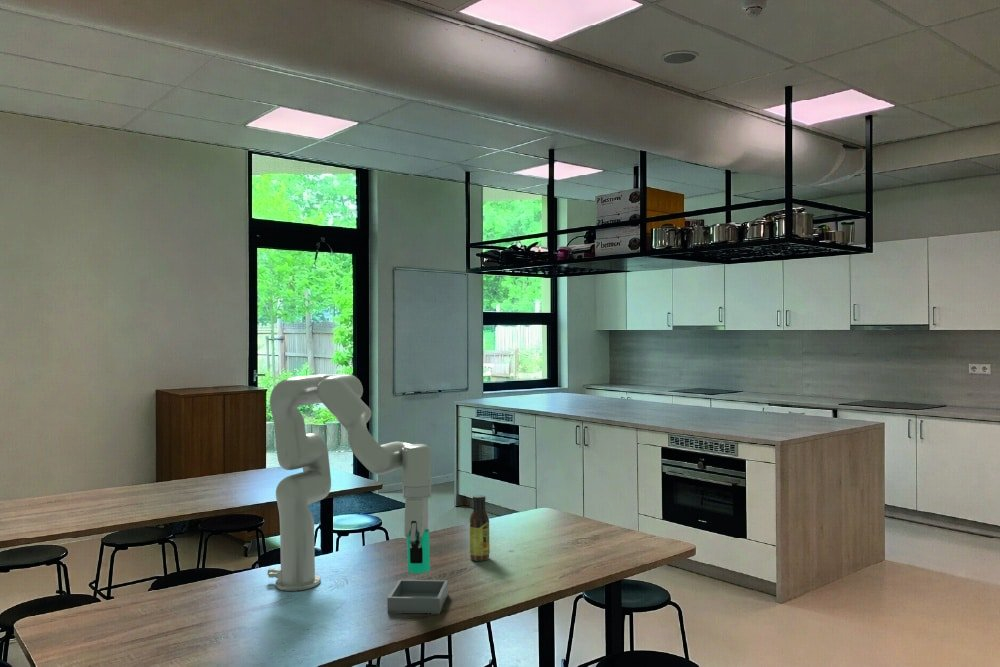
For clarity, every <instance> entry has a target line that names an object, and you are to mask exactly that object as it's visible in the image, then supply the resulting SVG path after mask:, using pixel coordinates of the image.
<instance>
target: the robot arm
mask: <svg viewBox="0 0 1000 667" xmlns="http://www.w3.org/2000/svg"><path fill="white" fill-rule="evenodd" d="M363 393H364V388H363V385H362V382H361V381H360V379H359V378H358V377H357V376H356V375H353V374H348V373H347V374H312V375H311V374H310V375H299V376H293V377H288V378H285V379H283V380H281V381H279V382H278V383H277V384H275V386H274V387H273V389H272V390H271V393H270V397H269V406H270V412H271V417H272V421H273V426H274V439H275V447H276V448H275V449H276V455H277V462H278V464H279V466H280V467H281V468H282V469H283V470H287V471H294V470H295V471H296V470H298V469H299V470H300V469H302V472H297V473H295V474H291V475H288V476H286V477H284V478H283V479H282V480H280V481H279V482H278V484H277V486H276V490H275V500H276V503H277V509H278V514H279V533H280V534H279V539H280V540H279V543H280V547H279V548H280V567H278V568H267V576H268V578H275V579H276V581H275V583H274V584H275V588H276V589H278V590H280V591H284V590H285V592H298V590H299V591H304V590H308V589H312V588H314V587H316V586H318V585H319V584H320V583H321V576H320V575H319V574H317V573H316V561H315V560H316V559H315V556H316V554H315V520H314V515H313V513H312V511H311V509H310V506H309V505H312V504H313V503H316V502H319V501H321V500H324V499H325V498H326V497H328V496H329V494H330V491H331V489H332V488H331V487H332V478H331V476H332V475H331V467H330V457H329V449H328V446H327V443H326V442H325V440H324V438H323V437H322V436H321V435H320V434H317V433H313V432H309V433H308V432H307V433H306V424H305V420H304V416H303V415H302V412H301V411H300V410H299V409H298V408H299V407H302V406H309V405H316V404H323V405H324V406H325V407H326V408H327V410H328V411H329V412H330V413H331V414H332V415H333V416H334V417H335V418H336V420H337V421H338V422H339V423H340V424H341V425H342V427H343V428H345V430H346V432H347V440H348V443H349V446H350V449H351V451H352V453H353V455H354V456H355V457H356V459H358V461H359V462H360V463H361V464H362V465H363V466H364V467H365V468H366V469H367V470H368V471H370V472H371V473H372V474H375V475H386V474H388V473H391V472H394V471H399V470H401V469H402V470H401V472H402V498H403V499H405V502H404V503H405V505H404V527H403V528H404V531H403V532H404V535H403V536H404V537H405V538H407V537H408V536H409V534H410V563H422V562H423V555H422V548H421V537H422V536H423V535H424V532H426V530H427V529H429V522H430V520H429V519H430V518H429V515H430V514H429V498H431V497H432V470H431V468H432V464H431V462H432V461H431V448H430V446H429V445H427V444H425V443H413V444H412V443H408V442H405V441H404V442H403V441H391V442H388V443H383V444H379V443H378V441H376V439H374V437H373V435H372V434H371V433H370V432H369V429H368V428H367V426H368V425H367V423H368V422H369V421H370V419H371V418H372V410H371V409H370V407H369V406H368V404H366V403H365V402H364V401H363V400H362V396H363ZM416 533H418V534H419V536H416ZM416 538H419V542H418V540H416Z"/></svg>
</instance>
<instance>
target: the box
mask: <svg viewBox="0 0 1000 667" xmlns="http://www.w3.org/2000/svg"><path fill="white" fill-rule="evenodd" d="M448 596H449V580H445V579H443V580H442V579H441V580H439V579H398V581H397V582H396V584H395V585H394V587H393V588H392V590H391V592H390V593H389V594H388V596H387V599H386V600H387V614H401V613H428V614H427V615H441V613H440V612H442V611H441V610H443V609H444V608H443V607H444V606H445V604H444V603H446V600H447V599H448ZM446 598H447V599H446ZM443 605H444V606H443ZM429 613H431V614H429Z"/></svg>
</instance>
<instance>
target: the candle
mask: <svg viewBox="0 0 1000 667" xmlns="http://www.w3.org/2000/svg"><path fill="white" fill-rule="evenodd" d="M416 536H419V534H418V533H416ZM416 540H418V542H419V538H416ZM430 545H431V544H430V530H429V528H428V529H427V530H426V532H424V535H423V536H422V537H421V548H422V555H423V562H422V563H410V534H409V536H408V537H406V554H407V555H406V556H407V557H406V558H407V560H406V561H407V571H408V573H411V574H424V573H427V572H429V571H431V551H430Z"/></svg>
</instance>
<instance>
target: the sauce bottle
mask: <svg viewBox="0 0 1000 667" xmlns="http://www.w3.org/2000/svg"><path fill="white" fill-rule="evenodd" d="M472 502H473V504H472V505H473V507H472V510H473V511H472V512H471V514H470V516H469V557H470V559H471V560H472V561H474V560H475V562H484V561H488V560H489V558H490V552H491V551H490V519H489V517H488V514H487V511H486V496H485V495H484V494H483V495H482V494H476V495H472ZM483 560H484V561H483Z"/></svg>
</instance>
